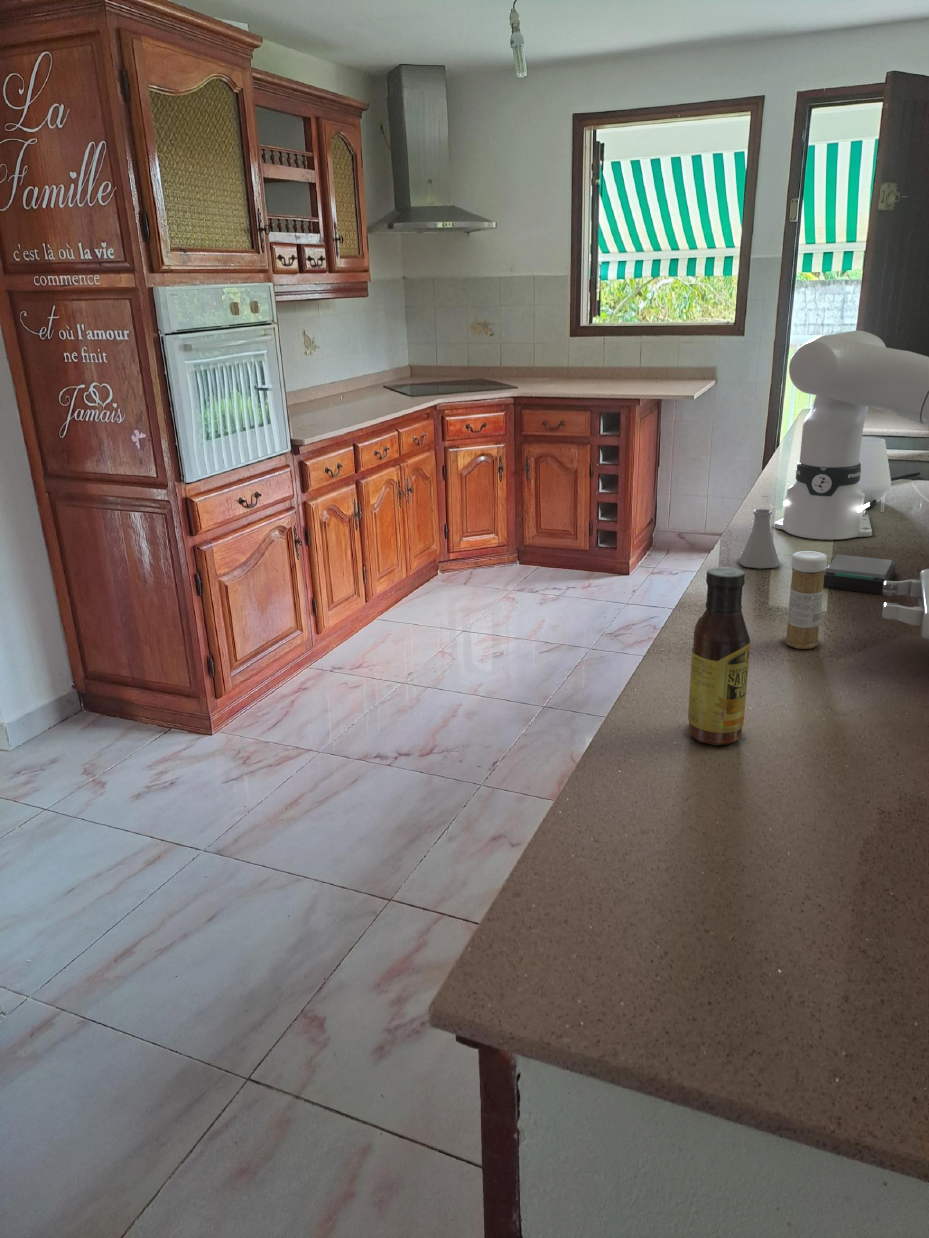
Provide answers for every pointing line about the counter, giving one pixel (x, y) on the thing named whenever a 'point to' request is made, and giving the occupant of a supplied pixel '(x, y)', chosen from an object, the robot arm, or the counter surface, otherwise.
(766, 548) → the flask
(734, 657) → the sauce bottle
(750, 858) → the counter surface
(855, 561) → the scale
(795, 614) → the sprinkles bottle
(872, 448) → the cup
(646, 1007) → the counter surface
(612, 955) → the counter surface
